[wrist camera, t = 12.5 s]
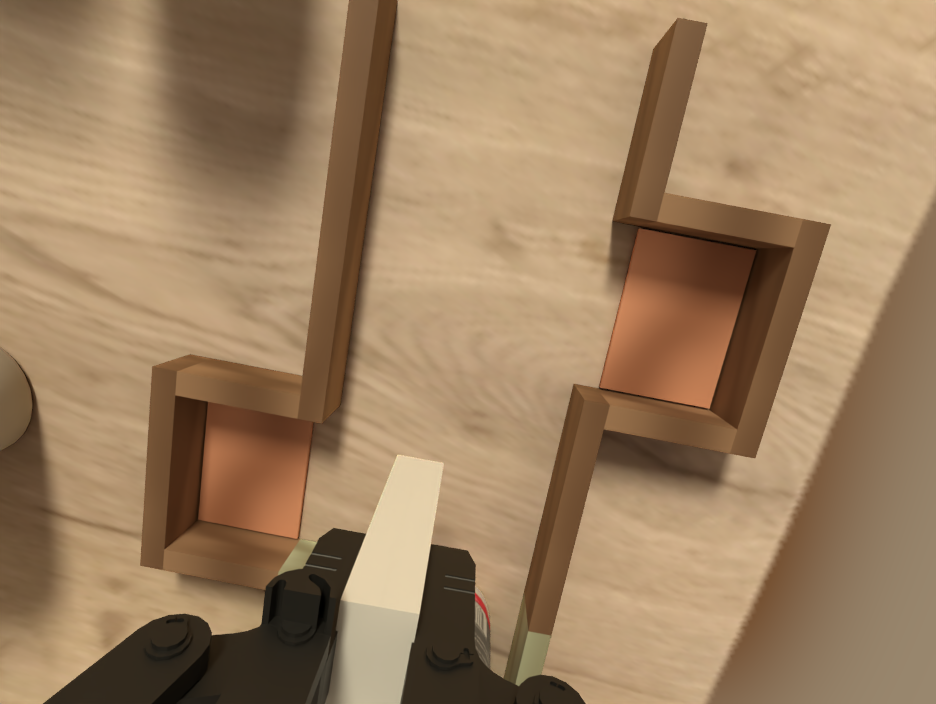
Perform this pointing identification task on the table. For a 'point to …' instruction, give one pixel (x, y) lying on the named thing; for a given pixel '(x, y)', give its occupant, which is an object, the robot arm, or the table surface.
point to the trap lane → (590, 409)
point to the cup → (13, 401)
